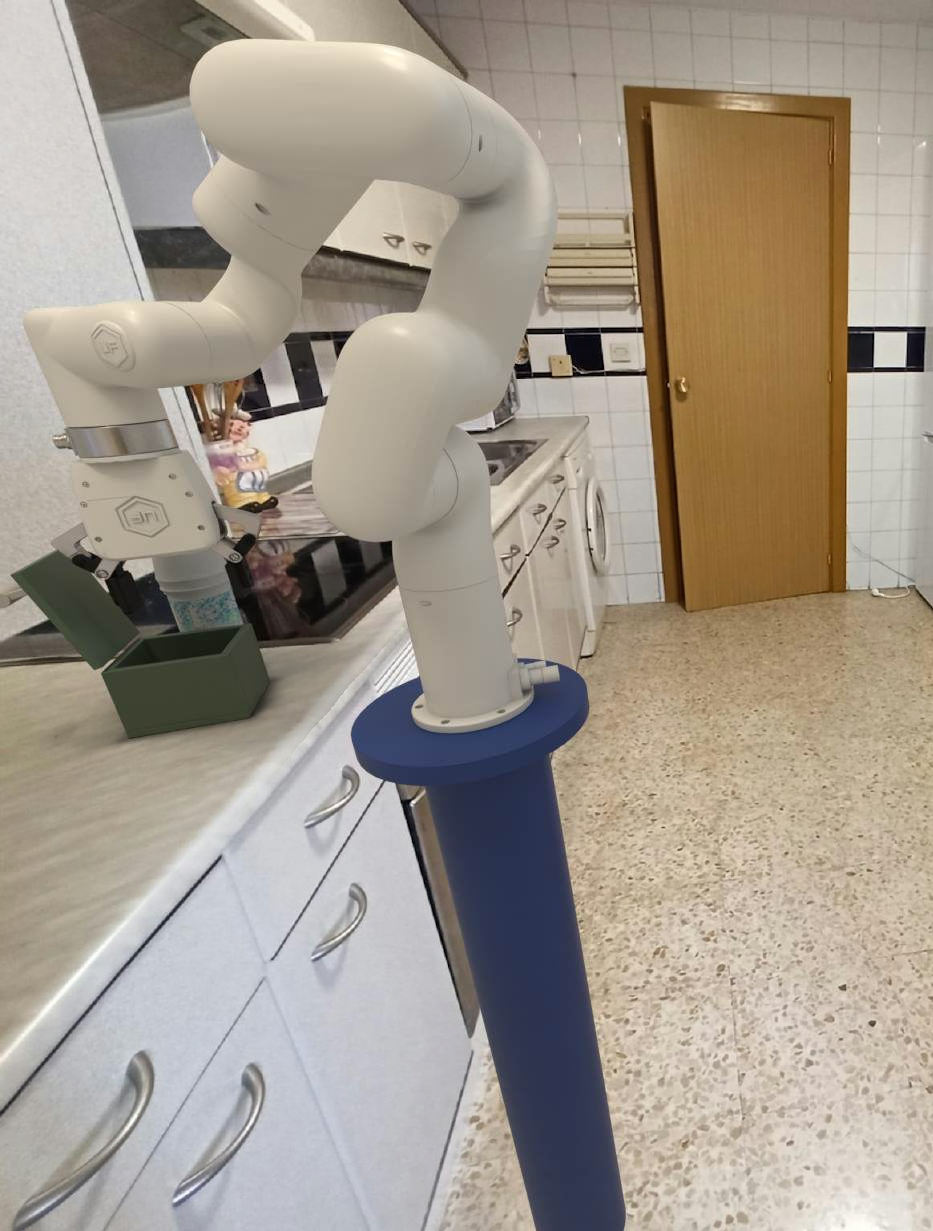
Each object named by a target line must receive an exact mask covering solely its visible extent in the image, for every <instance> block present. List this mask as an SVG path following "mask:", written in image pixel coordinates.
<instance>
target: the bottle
mask: <svg viewBox="0 0 933 1231" xmlns="http://www.w3.org/2000/svg"><path fill="white" fill-rule="evenodd" d="M151 561H152V567H153V572H154V579H155V580H156V582H157V584H158V585H159V590H160V591H161V592H162V593H164V594H165V596H166V597H167V600H168V603H169V604H168V605H169V606H170V608H171V611H172V614H173V617H174V620H175V622H176V625H177V628H178V630H179V632H187V631H195V630H203V629H210V628H218V627H226V626H234V625H241V624H244V621H243V618H242V616H241V613H240V609H239V606H238V604H237V600H236V596H235V593H234V591H233V588H232V585H231V583H230V580H229V577H228V575H227V572H226V569H225V564H226V563H227V560H226V558H224V557H222V556H221V555H219V554H217V553H216V552H214V551H212V550H211V549H207V550H203V551H198V552H191V553H184V554H176V555H168V556H160V557H152V558H151Z"/></svg>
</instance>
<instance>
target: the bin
mask: <svg viewBox="0 0 933 1231" xmlns="http://www.w3.org/2000/svg"><path fill="white" fill-rule="evenodd" d="M255 633H256V632H255V630H254V627H253V623H251V622H250V623H243V624H241V625H234V626H226V627H218V628H210V629H203V630H195V631H187V632H180V631H179V632H171V633H164V634H157V635H156V634H155V635H150V636H148V635H147V636H140V637H138V638H136V639H135V640H134V641H132V643H131V644H130V645H128V647H127V648H126V649H124V651H122V653H120V654H119V655H118V656H117V657H116V658H115V659H114V660H113V661H112V662H111V663H110V664H109V665H108V666H106V667H105V668H104V670H102V671H101V672H100V675H101V677H102V680H103V682H104V684H105V687H106V689H107V691H108V694H109V696H110V699H111V701H112V703H113V705H114V707H115V710H116V712H117V715H118V716H119V719H120V721H121V725H122V727H123V728H124V731H125V733H126V736H127V738H128V739H133V738H139V737H146V736H150V735H156V734H162V733H169V732H175V731H180V730H185V729H191V728H198V727H203V726H210V725H215V724H221V723H226V722H233V721H240V720H245V719H250V717H251V715H252V714H253V713H254V710H255V709H256V707H257V705H258V704H259V702H260V700H261V698H262V697H263V695H264V693H265V692H266V690H267V688H268V686H269V684H270V683H271V679H270V678H271V677H270V676H269V672H268V668H267V667H266V664H265V661H264V657H263V655H262V650H261V648H260V645H259V643H258V639H257V636H256V634H255Z"/></svg>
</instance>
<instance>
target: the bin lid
mask: <svg viewBox="0 0 933 1231" xmlns="http://www.w3.org/2000/svg"><path fill="white" fill-rule="evenodd" d="M9 576H10V577H11V578H12V579H13V581H12V582H10V583H8V584H6V585H5V586H3V587H1V588H0V609H6V608H8V607H9V606H12V605H13V604H15V603H16V602H18V601H20V600H22V599H23V598H24V597H26V596H28V597H29V598H30V600H31V601H32V602H33V603H34V604H35V605H36V607H38V609H39V610H40V611H41V612H42V613H43V614H44V616H46V618H47V619H48V620H49V621H50V622H51V624H53V626H54V627H55V628H56V629H57V631H59V633H60V634H61V635H62V636H63V637H64V638H65V639H66V641H68V643H69V644H70V645H71V646H72V647H73V648H74V649H75V651H76V652H77V653H78V654H79V655H80V656H81V657H82V659H83V660H84V661H85V662H86V663H87V664H88V665H89V666H90V668H91V669H92V670H93V671H96V670H100V669H103V667H105V666H106V665H107V664H108V663H109V662H110V661H111V660H112V659H113V658H114V657H115V656H116V655H118V654H119V653H120V652H121V651H122V650H124V648H125V647H126V646H128V644H130V643H131V642H133V640H134V639H135V638H136V637H137V636H138V635H139V634H140V633H141V632H140V631H139V629H138V628H137V627H136V626H135V625H134V623H133V622H132V621H131V619H130V618H129V617H128V615H125V614H124V613H123V611H122V609H121V606H116V605H115V603H114V601H113V599H112V597H111V594H110V593H108V592H107V590H106V589H105V588H104V586H103V585H102V584H101V583H100V582H99V580H98V578H97V577H96V576H95V575H94V574H93V573H91V572H89V571H86V570H84V569H82V568H80V567H78V566H76V565H74V564H73V563H72V560H71V559H69V558H67V557H66V556H64V555H63V554H62V553H60V552H59V551H58V550H57V549H55V550H53V551H51V552H49V553H47V554H45V555H43V556H42V557H40V558H38V559H36V560H35V561H33V562H30V563H29V564H27V565H25V566H24V567H21V568H20V569H18V570H16V571H14V572H12V573H10V574H9Z"/></svg>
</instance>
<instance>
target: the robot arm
mask: <svg viewBox="0 0 933 1231" xmlns="http://www.w3.org/2000/svg"><path fill="white" fill-rule="evenodd" d="M189 101H190V106H191V111H192V114H193V116H194V119H195V121H196V123H197V125H198V128H199V129H200V131H201V133H202V135H203V136H204V137H205V139H206V140H207V141H208V142H209V143H210V144H211V145H212V147H213V148H214V149H215V150H216V151H217V152H218V153H220V154H221V156H220V157H219V159H218V160H217V161H216V162H215V164H214V166H212V168H211V169H210V171H209V172H208V173H207V175H205V177H204V179H203V180H202V182H201V183H200V184H199V186H198V187H197V188H196V190H194V193H193V195H192V199H191V200H192V201H191V206H192V210H193V213H194V215H195V217H196V220H197V221H198V223H199V224H200V225H201V227H202V228H203V229H204V230H205V231H206V233H207V234H208V236H210V237H211V238H212V239H213V240H214V241H215V242H216V243H217V244H218V245H219V246H220V247H221V248H223V249H224V250H225V251H226V252H227V253H229V255H231V257H230V261H229V264H228V266H227V268H226V270H225V272H224V273H223V275H222V277H221V278H220V279H219V280H218V282H217V283H216V284H215V286H214V287H213V288H212V289H211V291H210V292H209V293H208V294H207V295H206V296H205V297H204V298H203V299H202V301H179V300H178V301H177V300H176V301H175V300H115V301H109V302H104V303H99V304H95V305H90V306H45V307H37V308H33V309H30V310H28V311H27V312H26V313H24V315H23V317H22V326H23V328H24V329H23V330H24V332H25V334H26V337H27V339H28V341H29V344H30V346H31V348H32V351H33V354H34V355H35V358H36V360H37V362H38V365H39V367H40V370H41V371H42V375H43V377H44V379H45V381H46V383H47V387H48V388H49V390H50V393H51V395H52V398H53V400H54V402H55V405H56V407H57V409H58V411H59V413H60V416H61V419H62V420H63V423H64V425H65V428H64V432H63V433H61V434H54V435H53V436H52V441H53V444H54V446H55V447H56V448H57V449H58V450H63V449H64V450H65V449H66V450H67V449H68V450H72V451H73V454H74V455H75V456H77V457H79V459H78V460H74V461H71V462H69V470H70V477H71V482H72V488H73V491H74V496H75V499H76V503H77V507H78V510H79V513H80V518H81V520H82V522H80V523H79V524H77V525H75V526H74V527H72V528H70V529H68V530H67V531H65V532H63V533H62V534H60V535H58V536H57V537H55V538H54V539H52V540H51V541H50V544H51V546H52V548H54V549H55V550H56V549H57V550H58V551H59V552H60V553H62V554H63V555H64V556H66V557H67V558H69V559H71V560H72V563H73V564H74V565H76V566H78V567H80V568H82V569H84V570H86V571H89V572H91V573H92V575H94V577H95V578H96V579H97V580H102V581H104V583H105V585H106V588H107V590H108V592H109V595H110V596H111V598H112V599H113V601H114V603H115V605H116V606H119V607H120V609H121V610H122V611H123V613H124V614H125V615H126V616H129V615H133V614H134V613H135V612H137V611H138V610H140V609H141V608H142V607H143V606H144V605H145V601H144V600H143V596H142V595H141V592H140V590H139V588H138V586H137V583H136V581H135V577H134V576H133V573H132V572H130V570H128V569H127V570H125V569H124V566H125V564H126V562H127V561H134V560H143V559H144V560H145V559H152V557H160V556H168V555H176V554H184V553H191V552H198V551H203V550H207V549H211V550H212V551H214V552H216V553H217V554H219V555H221V556H222V557H224V559H225V560H226V564H225V569H226V572H227V575H228V577H229V580H230V586H231V588H232V591H233V594H234V597H235V599H236V598H238V599H245V598H246V597H247V596H248V595H249V594H250V593H251V592H252V590H253V587H254V586H255V580H254V577H253V573H252V571H251V569H250V566H249V563H248V560H247V555H248V554H249V553H250V551H251V550H252V548H253V547H254V546H255V545H256V543H257V542H258V541H259V539H260V534H261V531H262V527H263V523H264V517H263V516H262V515H260V514H257V513H254V512H250V511H248V510H247V511H246V510H243V509H239V508H235V507H232V506H230V505H229V506H228V505H224V504H221V503H219V502H218V500H217V498H216V496H215V494H214V492H213V489H212V488H211V486H210V483H209V482H208V480H207V478H206V476H205V475H204V473H203V471H202V470H201V467H200V466H199V465H198V462H196V460H195V458H194V456H193V455H192V453H190V451H189V450H188V449H181V447H180V445H179V443H178V439H177V437H176V434H175V431H174V429H173V426H172V424H171V420H170V419H169V415H168V412H167V410H166V407H165V405H164V404H165V403H164V402H163V399H162V396H161V394H160V391H159V389H168V388H178V387H188V386H192V385H201V384H214V383H226V382H233V381H239V380H241V379H244V378H245V377H248V376H250V375H252V374H254V373H255V372H256V371H257V370H259V369H260V368H261V367H262V366H264V364H265V363H267V361H269V359H270V358H271V357H272V356H273V355H274V354H275V352H276V351H277V350H278V349H279V347H280V346H282V344H283V343H284V342H285V340H286V339H287V338H288V337H289V335H290V334H291V332H292V331H293V330H294V328H295V326H296V324H297V321H298V320H299V316H300V311H301V305H302V298H303V281H302V272H303V271H304V269H305V267H306V266H308V264H309V262H310V261H311V260H312V259H313V257H314V256H315V255H316V253H317V252H318V251H319V250H320V248H321V247H322V246H323V245H324V244H325V242H326V241H327V240H328V239H329V237H330V236H331V235H332V234H333V233H334V231H335V230H336V228H337V227H338V226H339V225H340V223H341V222H342V221H343V220H344V219H345V217H347V215H348V214H349V213H350V211H351V210H352V209H353V208H354V207H355V205H356V204H357V203H358V201H359V200H360V199H361V198H362V197H363V195H364V194H365V193H366V192H367V191H368V190H369V188H370V186H371V185H372V184H373V183H374V182H375V181H377V180H378V181H388V182H389V181H390V182H397V183H398V182H400V183H404V184H409V185H413V186H417V187H421V188H423V189H425V190H430V191H434V192H437V193H439V194H442V195H446V196H451V197H452V198H454V199H455V201H456V202H457V204H458V210H457V211H458V212H457V214H456V217H455V220H454V221H453V222H452V225H451V226H450V227H449V228H448V230H447V231H446V233H445V235H444V236H443V238H442V239H441V241H440V243H439V245H438V247H437V249H436V252H435V254H434V258H433V261H432V266H431V270H430V274H429V278H428V281H427V285H426V288H425V291H424V293H423V296H422V298H421V300H420V303H419V305H418V307H417V309H416V310H415V311H414V312H391V313H385V314H382V315H377V316H375V317H373V318H369V320H366V322H364V323H362V324H361V325H359V326H358V327H357V328H356V329H355V330H354V331H353V333H351V335H350V336H349V337H348V339H347V340H346V342H345V344H344V345H343V347H342V349H341V350H340V353H339V356H338V358H337V360H336V365H335V369H334V371H333V376H332V379H331V384H330V387H329V391H328V396H327V398H326V399H327V400H326V404H325V408H324V411H323V416H322V420H321V424H320V428H319V432H318V436H317V440H316V444H315V448H314V452H313V456H312V464H311V487H312V492H313V496H314V500H315V502H316V504H317V507H318V508H319V511H320V512H321V513H322V516H324V518H325V519H326V520H327V521H328V522H329V524H330V525H331V526H333V527H334V528H335V529H336V530H338V531H339V532H341V534H344V535H345V536H348V537H349V538H352V539H354V540H359V541H362V542H363V541H364V542H369V543H383V542H390V541H391V545H392V546H391V550H392V560H393V561H392V562H393V569H394V574H395V577H396V581H397V586H398V590H399V593H400V594H399V595H400V598H401V603H402V608H403V612H404V616H405V619H406V620H405V621H406V624H407V628H408V632H409V636H410V641H411V645H412V649H413V653H414V657H415V663H416V667H417V670H418V675H419V677H420V679H421V683H422V688H423V692H424V693H423V694H422V695H421V696H419V698H418V699H417V700H416V701H415V702H414V704H413V706H412V711H411V713H412V716H413V720H414V722H415V723H416V725H417V726H419V727H420V728H422V729H424V730H427V731H430V732H436V733H446V734H455V733H466V732H473V731H478V730H482V729H486V728H490V727H493V726H496V725H499V724H501V723H504V722H506V721H508V720H510V719H512V718H514V717H516V716H517V715H519V714H520V713H522V712H523V711H524V710H525V709H526V708H527V707H528V706H529V705H530V704H531V703H532V701H533V699H534V688H533V685H537V684H543V683H544V684H547V683H553V682H558V681H560V677H559V671H558V666H557V665H555V666H549V667H546V662H545V661H539V662H534V663H530V664H524V662H522V663H518V660H517V658H518V656H517V652H513V648H512V642H511V636H510V631H509V626H508V620H507V614H506V609H505V603H504V598H503V592H502V587H501V586H502V585H501V580H500V574H499V568H498V562H497V557H496V551H495V544H494V536H493V530H492V527H493V526H492V509H491V508H492V506H491V505H492V502H491V501H492V500H491V498H492V494H491V491H492V490H491V475H490V468H489V465H488V461H487V459H486V456H485V453H484V452H483V450H482V448H481V447H480V444H479V443H478V442H477V441H476V440H475V438H474V437H473V436H472V435H470V434H469V433H468V432H467V431H466V430H464V429H463V428H461V427H460V426H458V425H461V424H464V423H467V422H472V421H474V420H477V419H481V418H483V417H484V416H487V415H488V414H490V413H492V412H493V411H495V410H496V409H497V408H498V407H499V405H500V404H501V402H503V399H504V398H505V395H506V392H507V390H508V386H509V383H510V380H511V377H512V374H513V371H514V368H515V364H516V362H517V359H518V356H519V353H520V350H521V346H522V343H523V341H524V338H525V335H526V333H527V329H528V326H529V323H530V319H531V317H532V316H531V315H532V312H533V309H534V305H535V302H536V299H537V296H538V293H539V290H540V287H541V285H542V282H543V279H544V276H545V275H546V274H545V273H546V271H547V269H548V265H549V262H550V259H551V256H552V254H553V250H554V245H555V241H556V237H557V230H558V220H559V207H558V206H559V205H558V197H557V192H556V187H555V183H554V180H553V177H552V174H551V171H550V169H549V166H548V164H547V162H546V160H545V158H544V156H543V155H542V153H541V151H540V150H539V148H538V146H537V145H536V143H535V142H534V140H533V139H532V138H531V136H530V135H529V133H528V132H527V131H526V130H525V128H523V126H522V125H521V124H520V123H519V122H518V120H517V119H516V118H515V117H514V116H513V115H512V114H510V113H509V112H508V110H506V109H505V108H504V107H503V106H502V105H500V104H499V103H498V102H497V101H495V100H493V99H492V98H491V97H489V96H488V95H486V94H485V93H483V92H481V91H480V90H479V89H478V88H476V87H474V86H473V85H471V84H469V83H467V82H466V81H464V80H462V79H460V78H458V77H457V76H456V75H453V74H452V73H450V72H449V71H447V69H444V68H442V66H441V67H440V66H439V65H437V64H436V63H434V61H433V62H432V61H431V60H429V59H428V58H426V57H424V56H422V55H420V54H417V53H415V52H413V51H410V50H407V49H404V48H402V47H398V46H394V45H389V44H383V43H374V42H359V41H358V42H357V41H327V40H325V41H322V40H321V41H320V40H319V41H318V40H301V39H300V40H299V39H298V40H297V39H274V38H240V39H233V40H229V41H225V42H222V43H220V44H218V45H215V46H213V47H212V48H211V49H209V50H208V51H207V52H206V53H204V54H203V56H202V57H201V58H200V59H199V60H198V62H197V63H196V65H195V67H194V70H193V71H192V74H191V79H190V82H189ZM226 521H227V522H232V523H235V524H237V525H241V526H242V527H243V533H242V536H241V537H240V538H239V541H236V540H235V538H234V539H233V538H232V537H231V536H229V535H228V533H229V530H228V525H227V522H226ZM87 537H88V540H89V543H90V545H91V547H92V549H93V551H94V552H95V553H93V552H92V551H89V550H88V551H87V550H86V549H85V547H84V546H83V545H82V544H81V541H82V540H84V539H85V538H87Z"/></svg>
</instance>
